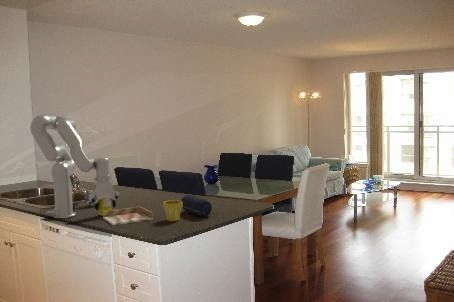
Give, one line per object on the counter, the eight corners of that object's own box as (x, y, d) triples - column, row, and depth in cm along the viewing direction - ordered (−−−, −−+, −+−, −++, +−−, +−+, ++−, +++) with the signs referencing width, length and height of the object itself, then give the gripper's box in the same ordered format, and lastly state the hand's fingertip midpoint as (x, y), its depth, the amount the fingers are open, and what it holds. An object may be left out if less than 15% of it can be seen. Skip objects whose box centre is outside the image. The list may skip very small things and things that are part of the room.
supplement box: (106, 213, 262) (105, 195, 261) (112, 215, 258) (111, 196, 257) (97, 215, 257) (96, 197, 256) (103, 217, 253) (102, 198, 252)
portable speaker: (215, 216, 246) (214, 199, 245) (199, 219, 241) (198, 201, 240) (194, 209, 268) (193, 192, 267) (178, 211, 262) (178, 194, 262)
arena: (113, 225, 233) (112, 218, 232) (103, 218, 250) (102, 211, 249) (153, 219, 243) (152, 212, 243) (140, 213, 261) (140, 206, 260)
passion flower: (95, 215, 284) (86, 202, 276) (85, 210, 290) (77, 197, 283) (108, 203, 289) (100, 190, 282) (98, 198, 296) (90, 185, 289)
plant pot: (186, 220, 240) (185, 202, 240) (169, 223, 235) (168, 204, 234) (177, 216, 249) (177, 199, 248) (160, 219, 243) (160, 201, 243)
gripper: (89, 181, 248) (91, 212, 249) (120, 178, 257) (122, 207, 258) (86, 180, 255) (88, 209, 256) (116, 176, 263) (118, 205, 265)
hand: (105, 208), depth 257 cm, fingers open, 9 cm apart
